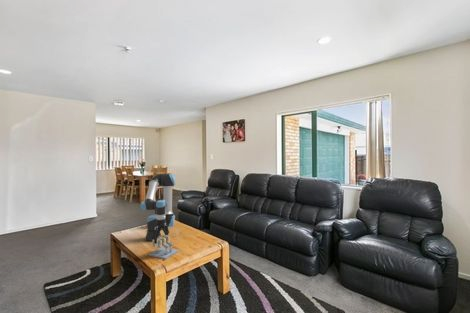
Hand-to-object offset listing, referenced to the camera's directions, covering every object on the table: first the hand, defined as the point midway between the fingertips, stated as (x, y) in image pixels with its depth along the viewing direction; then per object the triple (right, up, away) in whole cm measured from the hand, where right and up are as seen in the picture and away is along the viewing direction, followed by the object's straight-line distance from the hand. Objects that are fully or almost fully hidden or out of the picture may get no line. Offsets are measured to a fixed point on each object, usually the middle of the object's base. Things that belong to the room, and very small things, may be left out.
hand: (161, 244), depth 195 cm
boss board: (+3, -7, -1) cm, 8 cm away
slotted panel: (0, 0, 0) cm, 0 cm away
